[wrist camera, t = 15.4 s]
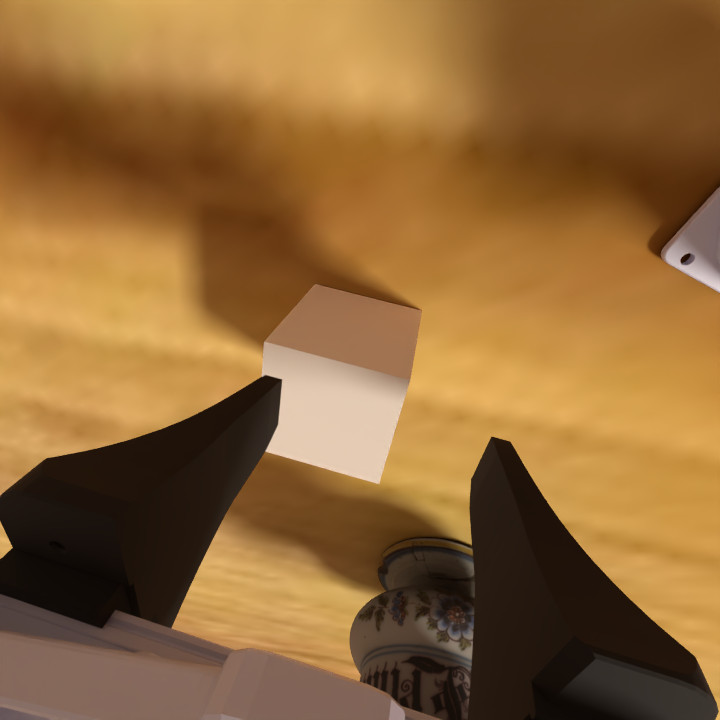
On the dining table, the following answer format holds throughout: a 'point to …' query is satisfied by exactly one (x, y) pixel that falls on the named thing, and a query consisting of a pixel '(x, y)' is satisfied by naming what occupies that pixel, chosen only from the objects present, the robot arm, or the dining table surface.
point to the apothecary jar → (420, 628)
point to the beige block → (341, 379)
